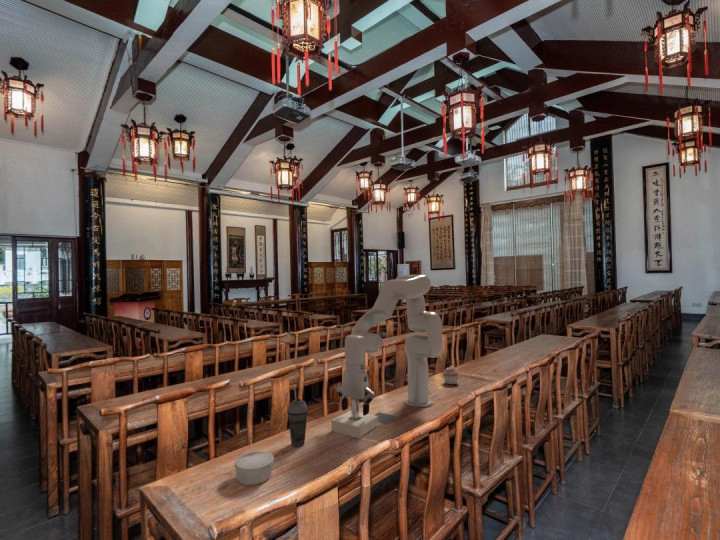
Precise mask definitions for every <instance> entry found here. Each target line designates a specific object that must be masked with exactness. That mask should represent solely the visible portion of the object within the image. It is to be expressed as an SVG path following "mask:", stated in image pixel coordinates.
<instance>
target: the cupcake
mask: <svg viewBox="0 0 720 540" xmlns="http://www.w3.org/2000/svg"><path fill="white" fill-rule="evenodd" d="M441 375H442V377H443V379H444V383H445V384H446V383H447V384H446V385H448V384H451V385H450V386H453V385H452V384H456V385H458V382H459V378H460V376H461V375H460V374H459V372H458V370H457V369H456V368H455V367H454V366H453V365H449V367H446V368H445V369H444V371H443V373H442V374H441Z"/></svg>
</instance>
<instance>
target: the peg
mask: <svg viewBox="0 0 720 540" xmlns="http://www.w3.org/2000/svg"><path fill="white" fill-rule="evenodd" d="M350 403H351V404H350V407H351V408H350V410H351V420H354V421H358V420H359V412H360V399H357V398H352V397H350Z"/></svg>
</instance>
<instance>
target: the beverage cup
mask: <svg viewBox="0 0 720 540" xmlns="http://www.w3.org/2000/svg"><path fill="white" fill-rule="evenodd" d="M293 391H294V393H293V394H294V399H293V400H292V401H291V402H290V403H289V405H288V407H287V416H288V423H289V435H290V443H291V447H293V448H301V447H303V446H305V442H306V432H307V431H306V430H307V419H308V415H309V414H308V412H309V408H308V405H307V403H306V402H305V400H303V399H302V398H297V392H296V386H293Z"/></svg>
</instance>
